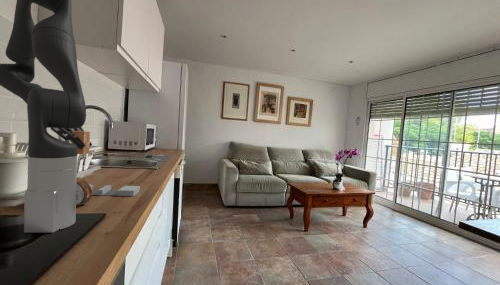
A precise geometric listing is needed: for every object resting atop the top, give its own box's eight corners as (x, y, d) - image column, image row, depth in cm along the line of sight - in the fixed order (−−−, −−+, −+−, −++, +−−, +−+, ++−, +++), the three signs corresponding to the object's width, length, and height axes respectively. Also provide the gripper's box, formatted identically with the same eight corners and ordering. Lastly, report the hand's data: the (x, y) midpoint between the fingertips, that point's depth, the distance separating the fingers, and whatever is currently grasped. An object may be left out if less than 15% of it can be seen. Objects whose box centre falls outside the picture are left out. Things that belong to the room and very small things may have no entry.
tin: (92, 205, 74) (93, 178, 73) (84, 208, 71) (85, 180, 70) (49, 200, 75) (49, 174, 75) (39, 203, 72) (39, 176, 72)
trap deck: (133, 196, 85) (133, 189, 85) (65, 194, 82) (65, 188, 82) (139, 191, 92) (139, 185, 92) (76, 189, 89) (76, 183, 89)
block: (83, 154, 83) (84, 131, 83) (71, 153, 83) (71, 131, 82) (89, 153, 87) (90, 131, 87) (77, 152, 87) (78, 131, 86)
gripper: (44, 101, 76) (84, 141, 78) (71, 105, 90) (104, 139, 93) (25, 116, 76) (66, 156, 78) (55, 118, 90) (88, 151, 92)
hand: (86, 146), depth 85 cm, fingers closed on block, 4 cm apart
